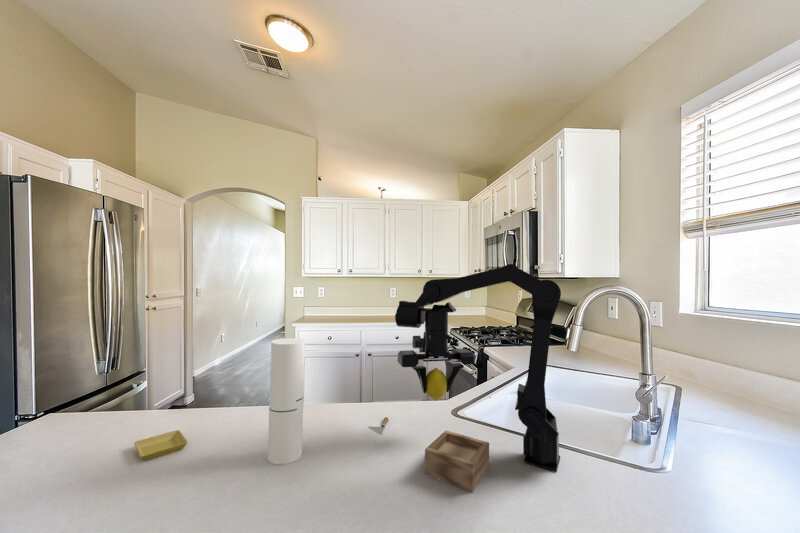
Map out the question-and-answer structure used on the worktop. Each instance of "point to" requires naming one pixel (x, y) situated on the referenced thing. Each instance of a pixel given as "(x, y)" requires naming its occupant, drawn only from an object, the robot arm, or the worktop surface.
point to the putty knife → (380, 429)
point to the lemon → (436, 384)
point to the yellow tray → (160, 445)
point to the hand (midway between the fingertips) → (435, 392)
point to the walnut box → (457, 460)
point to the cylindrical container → (286, 400)
